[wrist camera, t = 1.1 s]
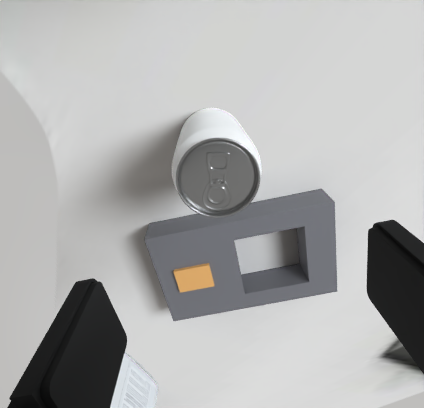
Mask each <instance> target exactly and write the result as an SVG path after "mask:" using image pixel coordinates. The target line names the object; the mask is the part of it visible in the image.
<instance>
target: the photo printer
mask: <svg viewBox="0 0 424 408" xmlns="http://www.w3.org/2000/svg"><path fill="white" fill-rule="evenodd" d="M157 394H158V385H157V384H156V382H155V381H154V380H153V379H152V378H151V377H150V376H149V375H148V374H147V373H146V372H145V371H144V370H143V369H142V368H141V367H140V366H139V365H138V364H137V363H136V362H135V361H134V360H133V359H131V358H130V357H129V356H128V355H127V354H125V353H124V356H123V360H122V364H121V368H120V372H119V375H118V379H117V383H116V387H115V391H114V395H113V398H112V402H111V406H110V408H155V407H156V401H157Z"/></svg>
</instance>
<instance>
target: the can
mask: <svg viewBox="0 0 424 408" xmlns="http://www.w3.org/2000/svg"><path fill="white" fill-rule="evenodd" d="M261 172H262V166H261V160H260V156H259V153H258V151H257V149H256V147H255V145H254V144H253V142H252V141H251V139H250V138H249V136H248V135H247V133H246V132H245V130H244V129H243V128H242V126H241V125H240V124H239V122H238V121H237V120H236V119H235V118H234V117H233V116H232V115H231V114H230V113H228V112H226V111H224V110H222V109H218V108H205V109H202V110H199V111H197V112H195V113H194V114H192V115H191V116H190V117H189V118H188V119H187V120H186V122H185V123H184V125H183V127H182V130H181V132H180V136H179V139H178V142H177V146H176V149H175V153H174V157H173V161H172V179H173V183H174V186H175V188H176V190H177V192H178V193H179V195H180V197H181V199H182V200H183V202H184V203H185V204H186V205H187V206H188V207H189V208H190V209H192V210H193V211H195V212H196V213H198V214H201V215H203V216H207V217H213V218H221V217H227V216H231V215H234V214H236V213H238V212H240V211H241V210H243V209H244V208H245V207H247V206H248V205H249V204H250V202H251V201H252V200H253V199H254V197H255V195H256V193H257V191H258V188H259V184H260V179H261Z"/></svg>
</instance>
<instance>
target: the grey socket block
mask: <svg viewBox="0 0 424 408" xmlns="http://www.w3.org/2000/svg"><path fill="white" fill-rule="evenodd" d="M293 228H297V238H298V249H299V259H300V264H296V265H291V266H285V267H280V268H275V269H270V270H264V271H259V272H254V273H248V274H243V275H241V272H240V267H239V262H238V258H237V253H236V248H235V243H234V240H237V239H242V238H247V237H252V236H257V235H263V234H268V233H273V232H278V231H283V230H288V229H293ZM144 240H145V243H146V246H147V248H148V251H149V254H150V257H151V260H152V262H153V265H154V268H155V271H156V274H157V276H158V279H159V282H160V285H161V288H162V290H163V293H164V296H165V299H166V302H167V304H168V307H169V310H170V313H171V315H172V318H173V321H178V320H183V319H189V318H194V317H200V316H205V315H211V314H216V313H221V312H227V311H232V310H238V309H243V308H249V307H254V306H260V305H265V304H271V303H276V302H282V301H287V300H293V299H298V298H304V297H309V296H315V295H320V294H326V293H331V292H336V291H337V268H336V234H335V202H334V201H333V200H332V199H331V198H330V197H329V196H328V195H327V194H326V193H325V192H324V191H323V190H322V189H318V190H313V191H308V192H303V193H298V194H293V195H288V196H283V197H278V198H273V199H268V200H263V201H258V202H253V203H250V204H249V205H248V206H247V207H245V208H244V209H243V210H241V211H240V212H238V213H236V214H234V215H231V216H227V217H221V218H213V217H207V216H203V215H201V214H194V215H189V216H184V217H179V218H174V219H169V220H164V221H159V222H154V223H149V226H148V230H147V233H146V236H145V239H144Z"/></svg>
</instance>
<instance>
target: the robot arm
mask: <svg viewBox="0 0 424 408" xmlns="http://www.w3.org/2000/svg"><path fill="white" fill-rule="evenodd" d="M367 294H368V296H369V299H370V300H371V302H372V303H373V304H374V306H375V307H376V309H377V310H378V311H379V313H380V314H381V316H382V317H383V318H384V320H385V321H386V322H387V324H388V325H389V327H390V328H391V329H392V331H393V332H394V333H395V335H396V336H397V338H398V339H399V340H400V342H401V343H402V344H403V346H404V347H405V349H406V350H407V351H408V353H409V354H410V356H411V357H412V358H413V360H414V361H415V362H416V364H417V365H418V367H419V368H420V369H421V371H422V372H423V373H424V243H423V242H421V241H420V240H419V239H418V238H416V237H415V236H414V235H413V234H411V233H410V232H409V231H408V230H406V229H405V228H404V227H403V226H401V225H400V224H399V223H398V222H396V221H395V220H389V221H384V222H378V223H375V224H374V225H373V228H371V229H369V231H368V260H367ZM126 345H127V336H126V333H125V331H124V329H123V327H122V325H121V322H120V320H119V318H118V316H117V314H116V312H115V310H114V308H113V306H112V304H111V301H110V299H109V297H108V295H107V293H106V291H105V289H104V287H103V285H102V283H101V282H97V281H96V280H95V279H88V280H82V281H78V282H76V283H75V284H74V286H73V288H72V290H71V291H70V293H69V295H68V297H67V298H66V300H65V302H64V304H63V305H62V307H61V309H60V311H59V312H58V314H57V316H56V318H55V319H54V321H53V323H52V325H51V326H50V328H49V330H48V332H47V333H46V335H45V337H44V339H43V340H42V342H41V344H40V346H39V347H38V349H37V351H36V353H35V354H34V356H33V358H32V360H31V361H30V363H29V365H28V367H27V369H26V370H25V372H24V374H23V376H22V377H21V379H20V381H19V383H18V384H17V386H16V388H15V389H14V391H13V393H12V395H11V396H10V400H11V402H10V404H9V406H8V408H110V406H111V402H112V398H113V395H114V391H115V387H116V383H117V379H118V375H119V372H120V368H121V364H122V360H123V356H124V353H125V349H126Z"/></svg>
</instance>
